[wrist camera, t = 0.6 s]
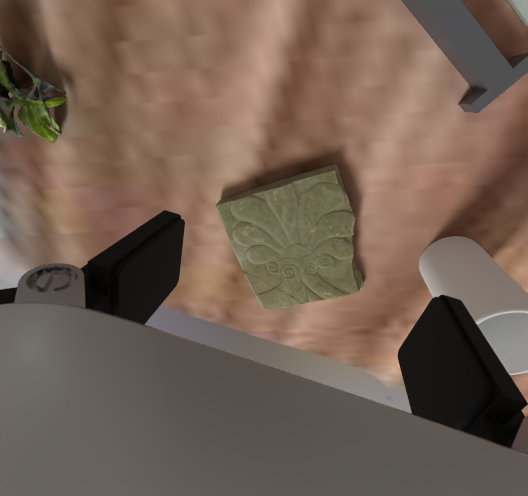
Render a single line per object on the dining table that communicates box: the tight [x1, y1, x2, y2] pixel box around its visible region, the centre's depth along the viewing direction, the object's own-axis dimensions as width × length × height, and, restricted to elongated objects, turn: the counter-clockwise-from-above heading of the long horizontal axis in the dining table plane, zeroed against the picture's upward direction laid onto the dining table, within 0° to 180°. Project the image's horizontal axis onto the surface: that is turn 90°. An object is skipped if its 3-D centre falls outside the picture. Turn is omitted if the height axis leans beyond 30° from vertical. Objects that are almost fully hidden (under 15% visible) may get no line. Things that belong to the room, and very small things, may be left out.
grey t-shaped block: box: [402, 0, 528, 113], centre depth 29 cm, size 15×6×4 cm, turn 48°
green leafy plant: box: [0, 46, 67, 142], centre depth 39 cm, size 11×11×12 cm
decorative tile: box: [216, 164, 364, 310], centre depth 44 cm, size 19×20×4 cm
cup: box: [419, 236, 528, 375], centre depth 35 cm, size 8×8×16 cm
